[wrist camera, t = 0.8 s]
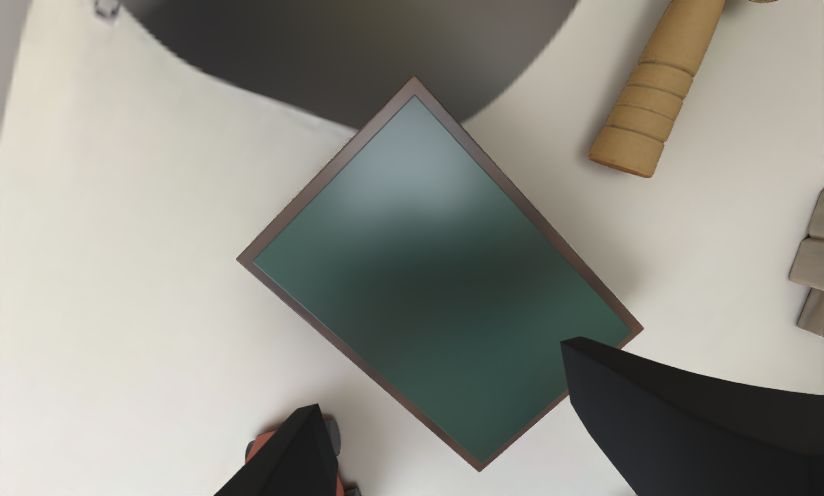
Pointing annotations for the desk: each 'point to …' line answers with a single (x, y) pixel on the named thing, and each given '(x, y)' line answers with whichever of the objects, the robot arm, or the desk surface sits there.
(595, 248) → the desk surface
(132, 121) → the desk surface
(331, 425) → the toy car
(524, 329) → the green topped wooden block
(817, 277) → the block tower
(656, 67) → the kendama
